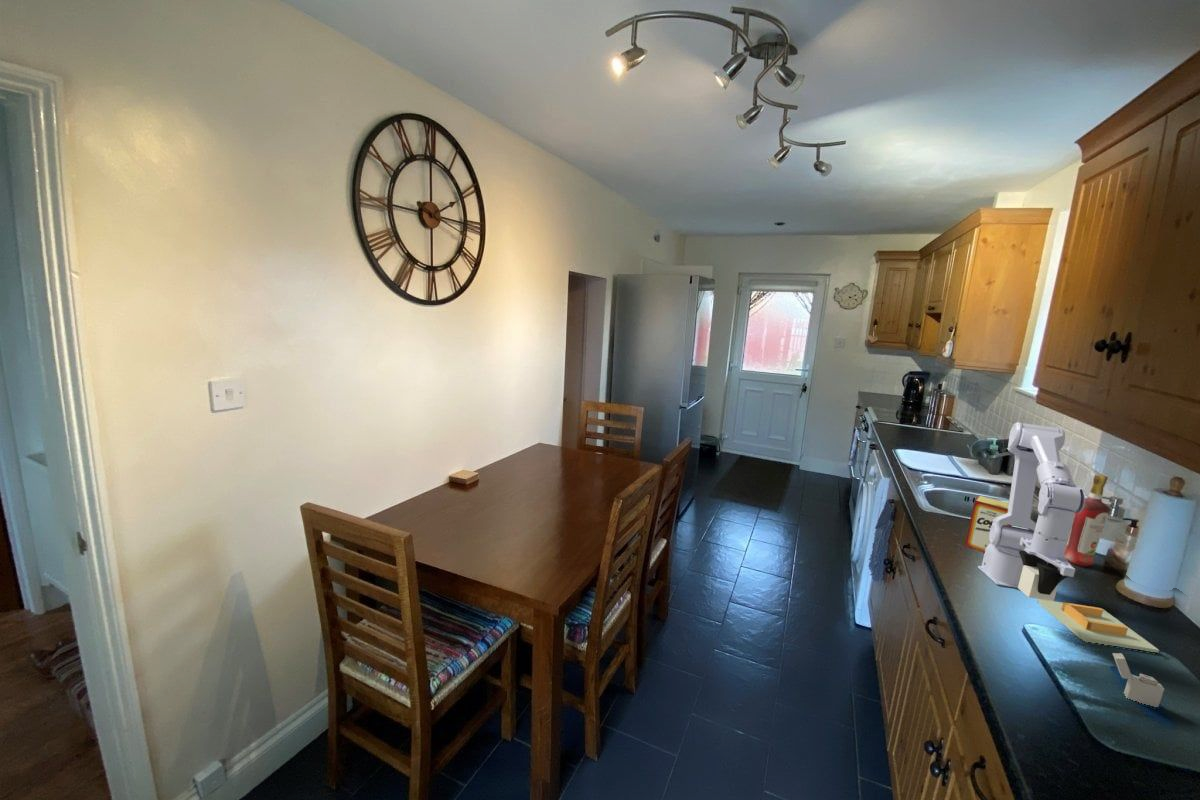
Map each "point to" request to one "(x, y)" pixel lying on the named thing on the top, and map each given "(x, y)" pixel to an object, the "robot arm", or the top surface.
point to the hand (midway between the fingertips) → (1037, 587)
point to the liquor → (1088, 526)
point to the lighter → (1139, 684)
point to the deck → (1096, 625)
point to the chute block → (1033, 584)
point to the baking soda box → (984, 521)
